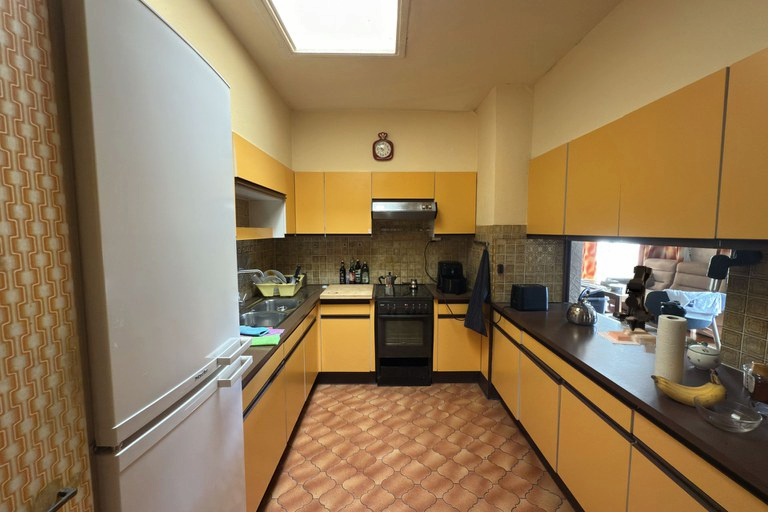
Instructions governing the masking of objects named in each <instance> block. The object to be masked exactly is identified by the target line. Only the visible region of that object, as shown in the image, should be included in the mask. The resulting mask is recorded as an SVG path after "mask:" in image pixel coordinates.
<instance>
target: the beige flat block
mask: <svg viewBox="0 0 768 512" xmlns="http://www.w3.org/2000/svg"><path fill="white" fill-rule="evenodd" d="M638 338H639V340H640V342H641V344H642V345H641V346H644V347H643V352H644V353H647V354H648V353H649V354H656V352H655V348H657V346H656V345H655V344H654V343H652V342H648V343H645V342H644V340H643V338H642V336H638Z"/></svg>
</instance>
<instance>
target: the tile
mask: <svg viewBox="0 0 768 512" xmlns="http://www.w3.org/2000/svg"><path fill="white" fill-rule="evenodd" d="M608 332H609V335H610V336H611V337H613V338H614V339H616V340H617V341H630V337H629V336H628V335H626V334H624V333H623V331H621V330H618V331H617V330H609V331H608Z"/></svg>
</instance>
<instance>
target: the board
mask: <svg viewBox="0 0 768 512" xmlns="http://www.w3.org/2000/svg"><path fill="white" fill-rule="evenodd" d="M622 333H624V334H626V335H628V336H629V337H630V339H632V340H634V341H635V342H637V343H639V344H640V345H639V346H643V345H642V344H641V342H640V340H639V338H638V336H642V338H643V340H644V342H645V343H648V342H652V343H654V344H655V345H656V337H657V336H656V335H653V334H652V333H650V332H649V331H648V332H646V331H644V330H642V329H637V328H635V330H634V331H631V329H630V327H623V328H622Z"/></svg>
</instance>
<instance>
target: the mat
mask: <svg viewBox="0 0 768 512" xmlns="http://www.w3.org/2000/svg"><path fill="white" fill-rule="evenodd" d="M596 333H597V334H599V335H600V336H602V337H603V338H604V339H606V340H607V341H609V342H610V343H612V344H613V345H625V346H626V345H629V346H630V345H631V346H641V345H640V344H639V343H637V342H635V341H634V340H632V339H630V341H617V340H616V339H614V338H613V337H611V336H610V335H609V331H608V332H607V331H606V332H605V331H596Z"/></svg>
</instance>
